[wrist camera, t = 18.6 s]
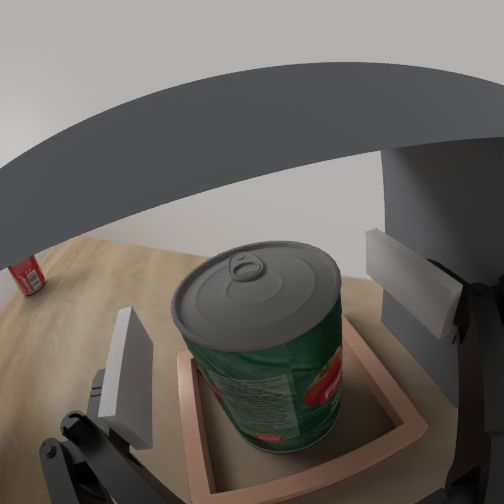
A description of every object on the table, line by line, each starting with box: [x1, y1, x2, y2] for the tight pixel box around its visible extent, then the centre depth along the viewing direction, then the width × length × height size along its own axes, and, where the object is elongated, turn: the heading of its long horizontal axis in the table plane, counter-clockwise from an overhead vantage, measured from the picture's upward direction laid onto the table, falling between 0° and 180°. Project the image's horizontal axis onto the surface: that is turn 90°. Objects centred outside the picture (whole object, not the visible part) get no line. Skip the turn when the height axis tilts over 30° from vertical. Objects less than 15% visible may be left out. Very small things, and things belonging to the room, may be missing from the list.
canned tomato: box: [171, 241, 343, 453], centre depth 15 cm, size 8×8×11 cm
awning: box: [0, 62, 504, 407], centre depth 13 cm, size 22×12×18 cm, turn 104°
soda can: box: [8, 255, 45, 295], centre depth 44 cm, size 7×7×12 cm
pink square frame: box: [177, 314, 429, 504], centre depth 17 cm, size 14×14×2 cm
